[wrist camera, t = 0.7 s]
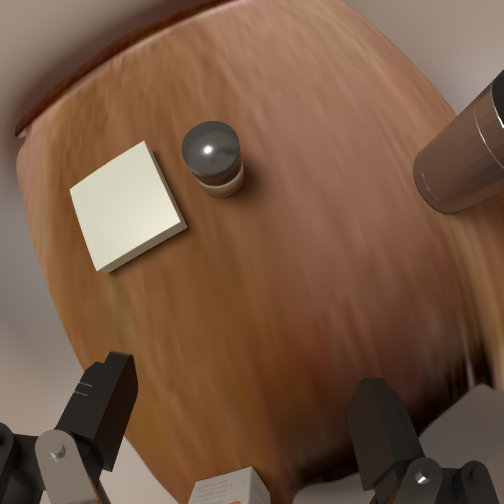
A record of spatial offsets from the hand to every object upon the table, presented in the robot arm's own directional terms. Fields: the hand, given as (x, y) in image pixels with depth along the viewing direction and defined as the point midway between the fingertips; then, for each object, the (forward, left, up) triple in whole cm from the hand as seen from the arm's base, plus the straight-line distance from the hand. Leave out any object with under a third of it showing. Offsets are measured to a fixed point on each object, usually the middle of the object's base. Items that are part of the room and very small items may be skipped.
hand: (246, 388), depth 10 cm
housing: (-4, -16, -22) cm, 28 cm away
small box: (+13, +18, -23) cm, 32 cm away
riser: (+8, -18, -22) cm, 30 cm away
